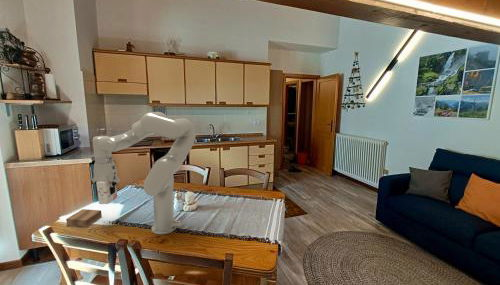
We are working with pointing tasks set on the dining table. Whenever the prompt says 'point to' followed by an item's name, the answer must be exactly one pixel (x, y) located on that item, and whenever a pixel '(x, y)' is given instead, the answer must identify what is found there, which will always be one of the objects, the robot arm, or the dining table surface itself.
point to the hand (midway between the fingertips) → (107, 193)
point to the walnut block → (84, 218)
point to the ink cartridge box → (105, 192)
